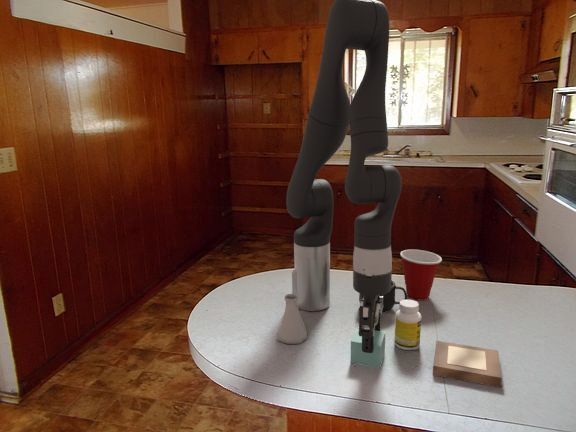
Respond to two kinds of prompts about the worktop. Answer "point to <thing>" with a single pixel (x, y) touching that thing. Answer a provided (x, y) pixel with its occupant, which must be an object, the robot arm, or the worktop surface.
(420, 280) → the plastic cup
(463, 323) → the worktop surface
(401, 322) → the supplement bottle
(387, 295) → the mug
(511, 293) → the worktop surface
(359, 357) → the teal block
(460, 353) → the base board
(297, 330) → the flask
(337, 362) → the worktop surface
